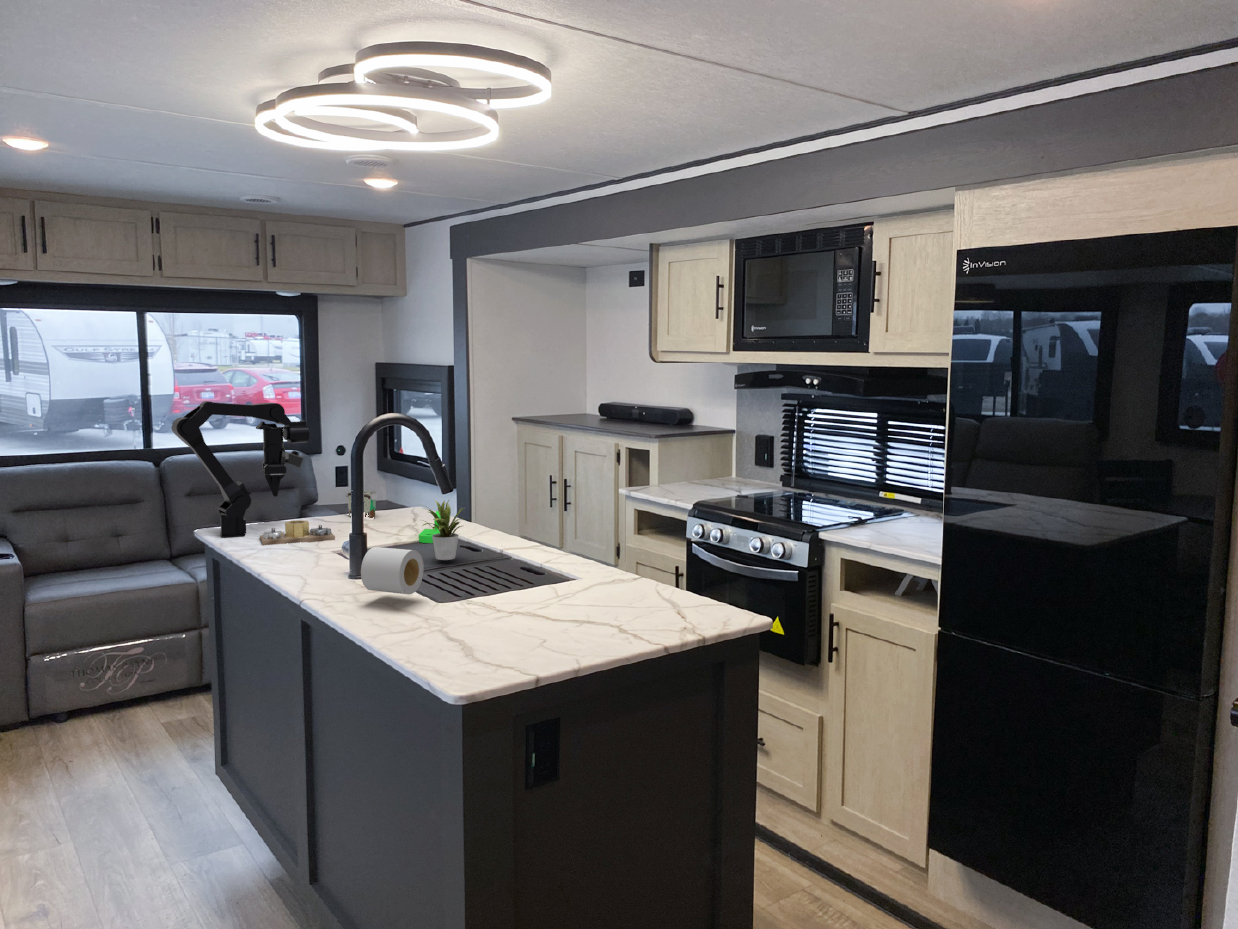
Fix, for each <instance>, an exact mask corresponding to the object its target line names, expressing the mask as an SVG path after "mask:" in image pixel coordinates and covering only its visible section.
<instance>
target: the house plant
mask: <svg viewBox="0 0 1238 929" xmlns="http://www.w3.org/2000/svg"><path fill="white" fill-rule="evenodd" d="M434 501H435V503H436V506H437V511H438V512H439V514H440V518H441V519H439V517H438V515H437V514H436V513H435V512H436V511H434V510H431V509H429V508H422V509H423V510H427V511H428V512H429V514H431V515H432V516H433V519H432V520H435V521H436V522H437V523H438V525H439V526H438V525H436V524H434V523H432V522H427V521H426V520H422V519H421V521H422V522H425V523H423V524H422V525H421V527H423V526H426V525H428V526H430V527H431V529H434V528H437V529H438V530H439V532H440V533H438V534H434V535H432V539H433V543H432V544H433V551H434V555H435V559H436V560H440V561H441V560H442V561H448V560H454V559H456V557H457V556H456V554H457V548H458V542H459V536H460V535H459V534H458V533H455V532H456V531H457V530H458V529H460V528H462V527H463V525H459V524H460V523H461V521H459V520H461V518H458V516H459V514H460V513H461V512H462V511H463V510H464V508H460V509H459V510H458V512H456V514H455V516H454V517H453V519H452V521H451V510H452V509H451V506H450V502H449V501H450V498H449V499H448V501H445V500H443V502H442V503H441V504H440V503H439V502H438V501H437V500H434ZM419 505H420V506H421V504H418V503H417V506H419ZM422 506H424V507H425V505H424V504H422ZM434 518H435V519H434ZM457 518H458V519H457ZM462 520H463V521H464V520H465V519H464V518H462ZM450 522H451V523H450ZM432 525H433V526H432ZM434 525H435V526H436V527H434ZM458 525H459V526H458Z"/></svg>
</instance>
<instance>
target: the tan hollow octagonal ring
mask: <svg viewBox="0 0 1238 929" xmlns="http://www.w3.org/2000/svg"><path fill="white" fill-rule="evenodd" d="M284 530H285V531H284V534H285V536H286V537H292V538H296V537H305V536H309V532H310V522H309V521H308V520H302V519H301V520H297V519H296V520H288V521H285V522H284Z"/></svg>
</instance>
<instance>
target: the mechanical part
mask: <svg viewBox="0 0 1238 929" xmlns="http://www.w3.org/2000/svg"><path fill="white" fill-rule="evenodd" d="M434 512H435V513H436V514H437V515H438V517H439V519H441V518H440V514H439V512H438V510H437V511H436V510H435V511H434ZM433 519H435V518H434V517H433ZM433 524H436V525H438V523H437V522H436V521H435V520H434V523H433ZM438 526H439V525H438ZM433 527H436V526H435V525H433ZM438 533H440V532H439V530H438V529H437V528H434V529H433V528H424V529H422V531H421V532H420V533H418V542H419V543H424V544H433V539H432V535H434V534H438Z"/></svg>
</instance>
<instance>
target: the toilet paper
mask: <svg viewBox="0 0 1238 929" xmlns="http://www.w3.org/2000/svg"><path fill="white" fill-rule="evenodd" d="M424 568H425V567H424V560H423V557H422V555H421V553H419V551H418V550H415V549H414V550H413V549H404V548H390V547H379V546H374V547H371V548H370V549H368V550H367V552H366V553H365V555H364V556H363V559H362V562H361V566H360V577H361V582H362V585H363V586H364V588H366V590H368V591H373V592H383V593H392V594H393V593H394V594H401V595H413V594H415V593H416V592H417V590H419V588H420V586H421V584H422V580H423V576H424Z"/></svg>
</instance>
